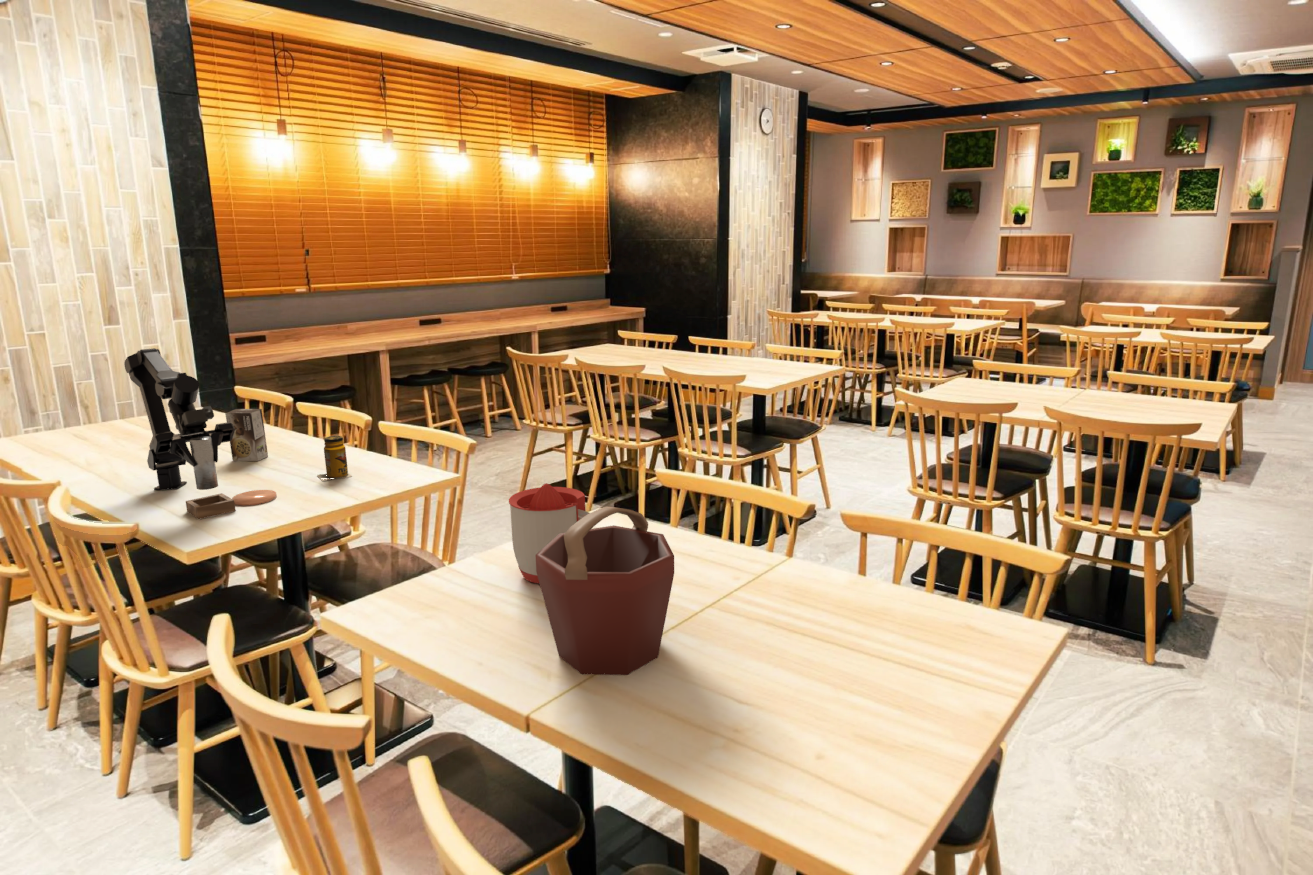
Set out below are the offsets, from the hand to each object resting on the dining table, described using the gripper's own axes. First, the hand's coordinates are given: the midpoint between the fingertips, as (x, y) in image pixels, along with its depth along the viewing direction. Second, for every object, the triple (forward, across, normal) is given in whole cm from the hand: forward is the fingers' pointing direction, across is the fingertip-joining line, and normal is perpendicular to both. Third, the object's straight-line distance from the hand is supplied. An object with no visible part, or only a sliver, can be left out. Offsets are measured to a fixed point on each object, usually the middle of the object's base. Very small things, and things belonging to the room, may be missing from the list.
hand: (205, 463), depth 214 cm
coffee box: (-25, +28, +45) cm, 59 cm away
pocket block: (+9, 0, +10) cm, 13 cm away
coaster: (+7, +12, +12) cm, 18 cm away
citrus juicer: (+79, +35, -61) cm, 106 cm away
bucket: (+102, +20, -84) cm, 133 cm away
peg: (+4, 0, +6) cm, 7 cm away
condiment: (+4, +37, +16) cm, 40 cm away
